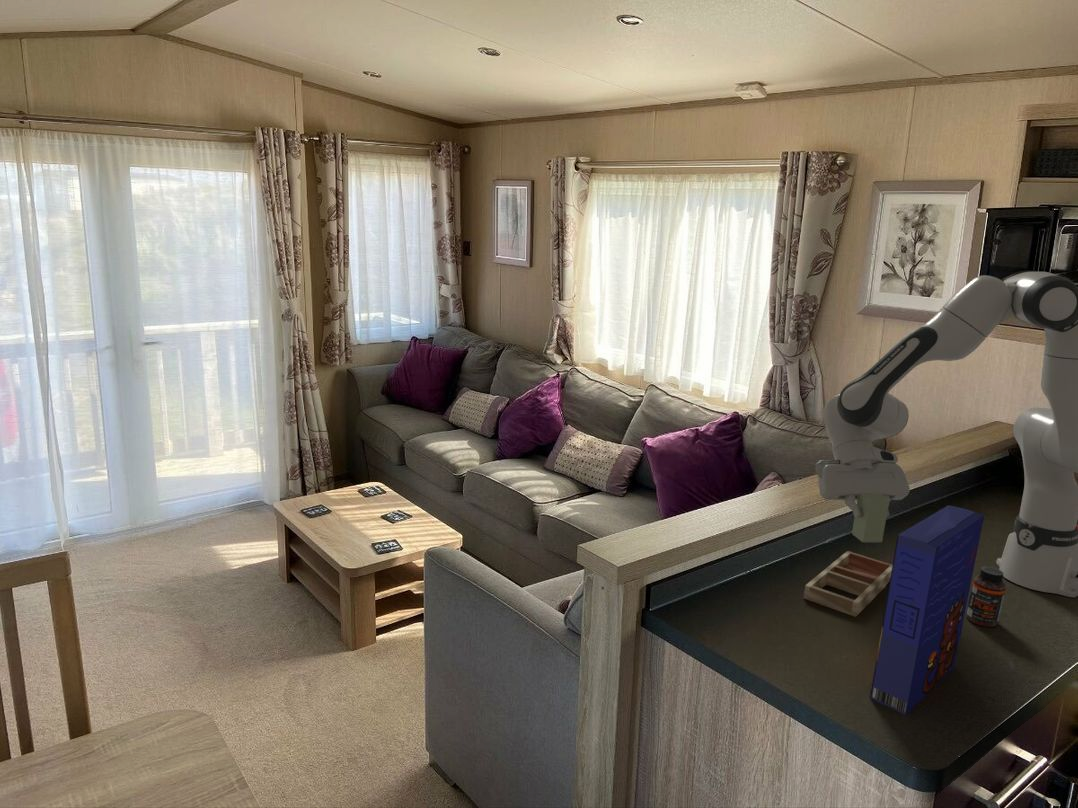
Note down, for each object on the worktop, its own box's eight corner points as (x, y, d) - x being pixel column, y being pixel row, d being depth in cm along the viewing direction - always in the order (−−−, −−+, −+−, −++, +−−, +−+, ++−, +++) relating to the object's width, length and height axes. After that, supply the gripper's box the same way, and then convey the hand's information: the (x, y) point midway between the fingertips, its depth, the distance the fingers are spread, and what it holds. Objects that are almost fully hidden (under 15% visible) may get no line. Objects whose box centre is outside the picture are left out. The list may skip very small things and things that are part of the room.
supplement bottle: (966, 624, 163) (977, 572, 160) (963, 611, 168) (973, 561, 165) (1000, 631, 160) (1011, 579, 158) (995, 617, 166) (1006, 567, 163)
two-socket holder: (845, 562, 189) (847, 550, 188) (894, 577, 182) (896, 565, 181) (803, 598, 170) (805, 585, 169) (855, 616, 163) (857, 603, 162)
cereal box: (920, 653, 150) (948, 503, 143) (954, 667, 146) (984, 514, 139) (869, 698, 136) (898, 533, 128) (905, 715, 131) (936, 545, 124)
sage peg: (851, 533, 181) (858, 492, 178) (870, 533, 181) (877, 492, 179) (862, 542, 176) (869, 499, 174) (882, 542, 177) (889, 499, 174)
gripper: (819, 453, 180) (834, 510, 173) (903, 454, 183) (921, 510, 176) (807, 466, 185) (821, 522, 178) (889, 466, 188) (906, 521, 181)
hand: (872, 516), depth 177 cm, fingers closed on sage peg, 5 cm apart
